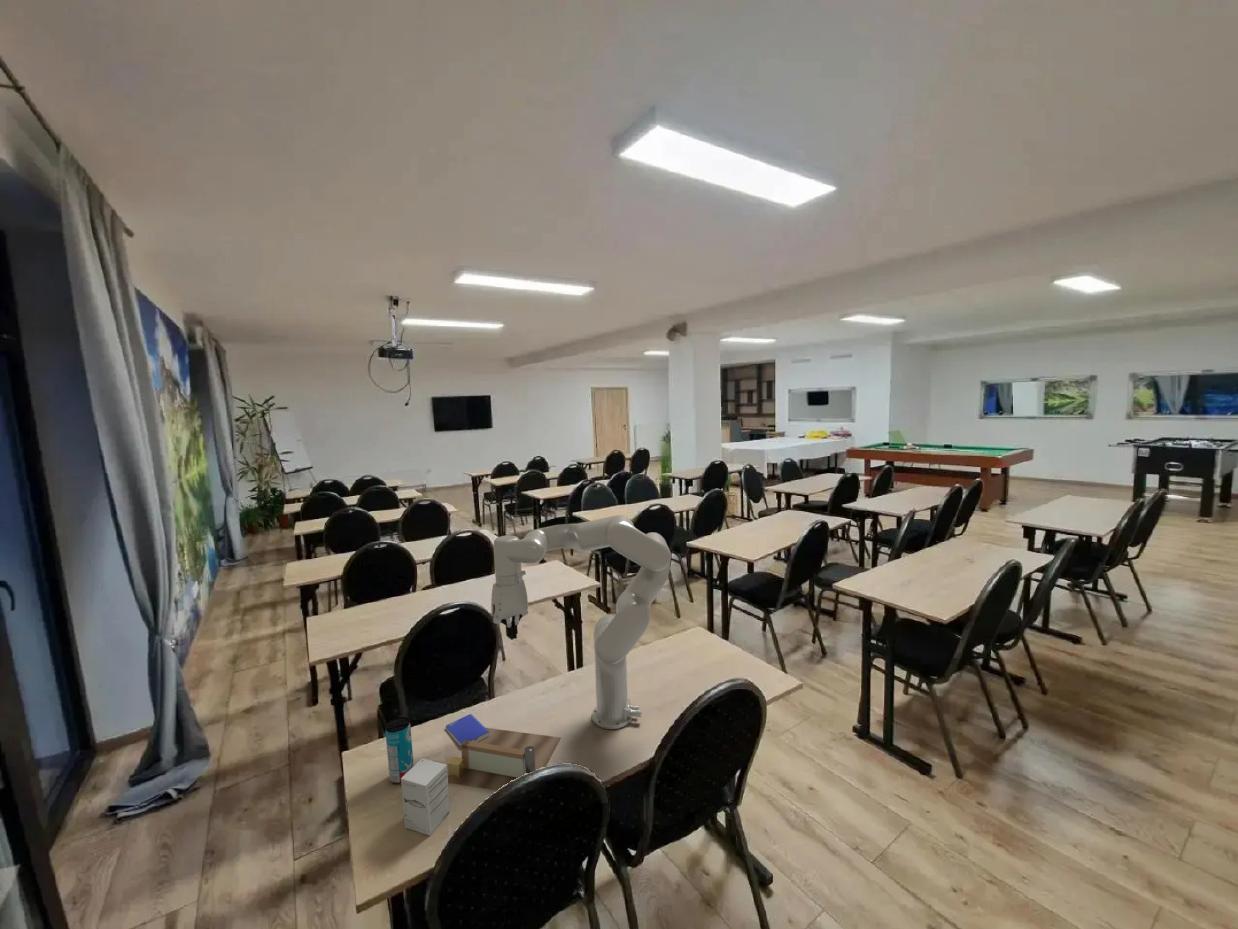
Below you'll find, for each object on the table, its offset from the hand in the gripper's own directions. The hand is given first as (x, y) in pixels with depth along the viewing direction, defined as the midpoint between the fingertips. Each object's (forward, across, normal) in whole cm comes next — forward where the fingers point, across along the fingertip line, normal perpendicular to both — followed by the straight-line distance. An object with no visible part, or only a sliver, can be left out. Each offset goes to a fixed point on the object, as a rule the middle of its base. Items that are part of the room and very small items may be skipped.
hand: (512, 637), depth 150 cm
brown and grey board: (+26, +14, +17) cm, 34 cm away
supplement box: (+27, +32, +21) cm, 47 cm away
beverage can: (+27, +34, +2) cm, 43 cm away
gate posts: (+27, +15, +18) cm, 35 cm away
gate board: (+27, +10, +13) cm, 32 cm away
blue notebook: (+27, +14, -4) cm, 31 cm away
